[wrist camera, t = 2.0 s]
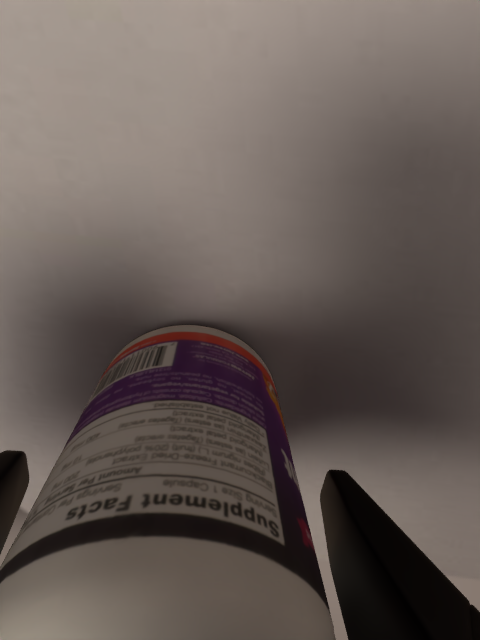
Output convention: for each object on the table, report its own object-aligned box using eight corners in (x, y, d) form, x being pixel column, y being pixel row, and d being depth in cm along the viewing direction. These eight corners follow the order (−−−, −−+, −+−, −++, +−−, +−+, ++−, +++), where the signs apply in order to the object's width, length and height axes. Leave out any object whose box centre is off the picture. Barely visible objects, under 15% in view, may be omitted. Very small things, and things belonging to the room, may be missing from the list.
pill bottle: (252, 469, 13) (319, 1150, 4) (96, 447, 12) (-230, 1227, 3) (298, 338, 11) (642, 1173, 2) (112, 301, 10) (-692, 1409, 1)
